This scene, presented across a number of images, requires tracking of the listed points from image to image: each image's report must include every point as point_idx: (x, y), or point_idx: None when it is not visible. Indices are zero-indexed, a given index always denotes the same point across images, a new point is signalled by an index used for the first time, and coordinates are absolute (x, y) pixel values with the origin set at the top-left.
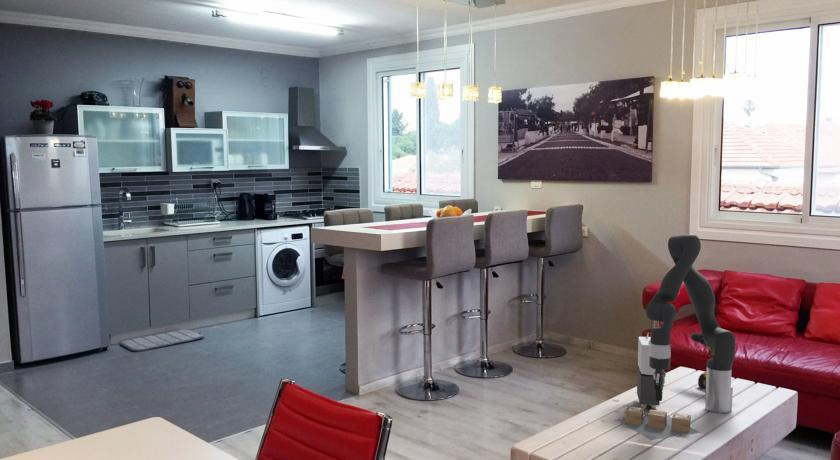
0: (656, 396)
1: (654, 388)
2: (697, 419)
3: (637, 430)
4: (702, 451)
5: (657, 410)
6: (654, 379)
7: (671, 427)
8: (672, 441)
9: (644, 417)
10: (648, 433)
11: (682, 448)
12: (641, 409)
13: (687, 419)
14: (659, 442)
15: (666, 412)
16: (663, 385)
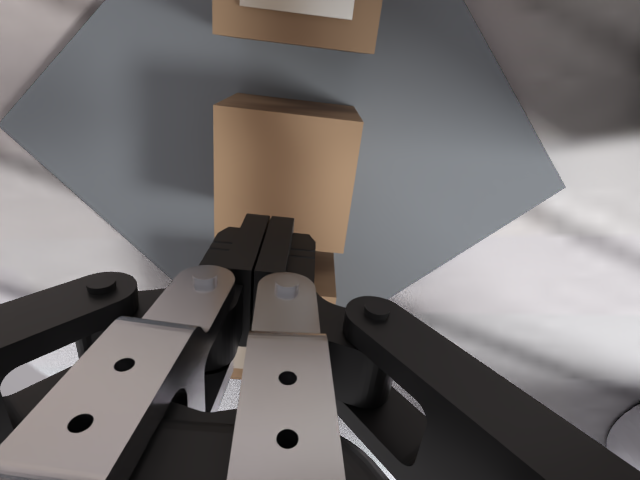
0: (237, 238)
1: (89, 285)
2: (498, 354)
3: (125, 14)
4: (39, 363)
5: (351, 182)
6: (24, 432)
7: None
8: (89, 242)
9: (448, 57)
10: (107, 103)
11: (16, 288)
12: (332, 29)
13: None
14: (24, 174)
15: (320, 250)
16: (352, 407)
